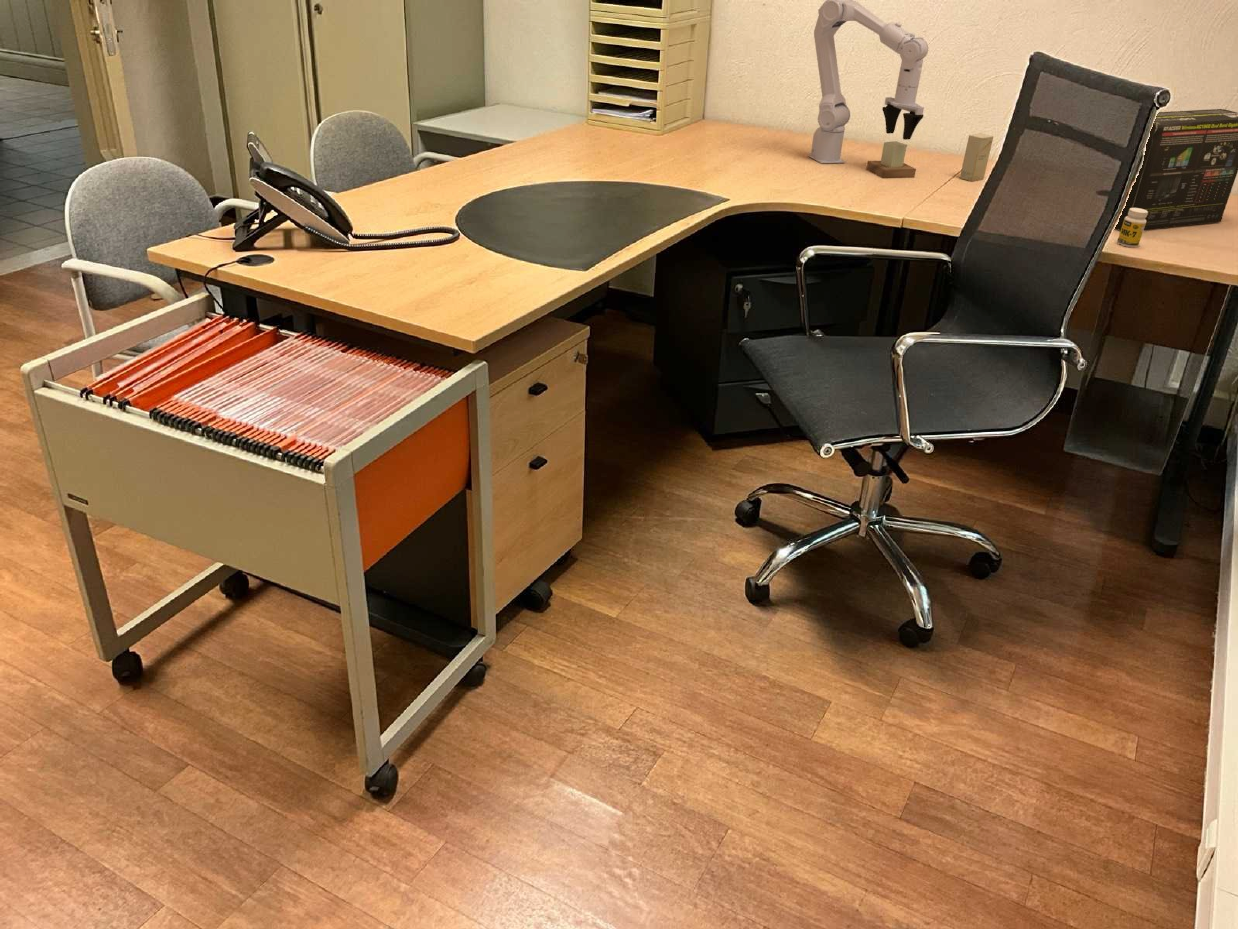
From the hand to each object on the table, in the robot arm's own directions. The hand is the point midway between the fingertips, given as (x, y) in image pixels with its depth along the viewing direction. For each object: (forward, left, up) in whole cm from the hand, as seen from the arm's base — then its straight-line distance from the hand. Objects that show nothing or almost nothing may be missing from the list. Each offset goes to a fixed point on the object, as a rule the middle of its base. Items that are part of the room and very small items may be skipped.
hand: (898, 136), depth 279 cm
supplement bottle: (+68, +25, -11) cm, 73 cm away
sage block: (0, 0, -8) cm, 8 cm away
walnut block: (0, 0, -11) cm, 11 cm away
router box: (+52, +47, -11) cm, 71 cm away
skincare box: (+8, +22, -11) cm, 25 cm away
